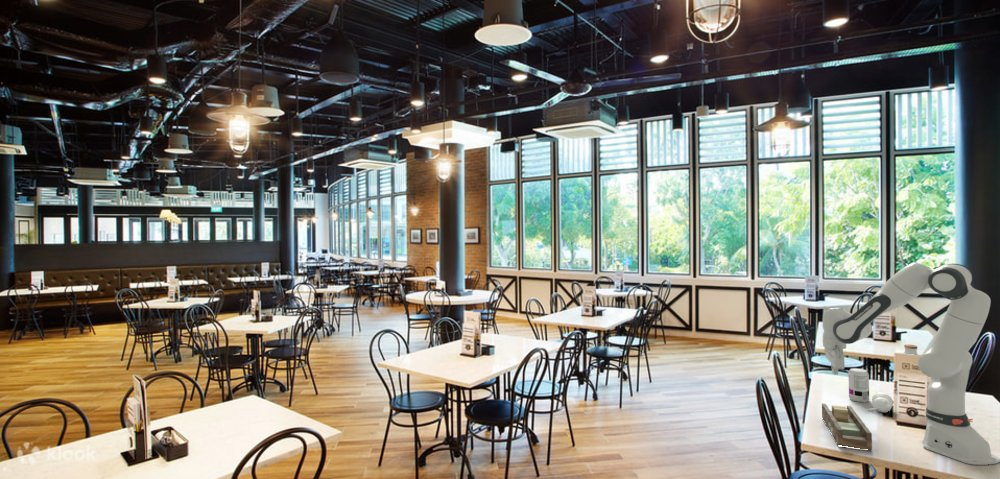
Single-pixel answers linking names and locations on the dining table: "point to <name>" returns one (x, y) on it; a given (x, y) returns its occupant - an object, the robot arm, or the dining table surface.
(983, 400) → the dining table surface
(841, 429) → the brown long open box
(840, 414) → the maple block
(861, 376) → the supplement can
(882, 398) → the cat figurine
